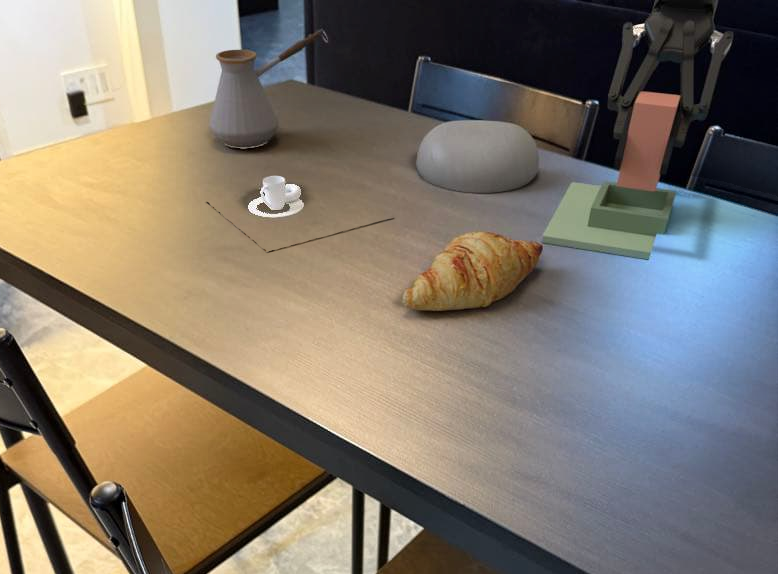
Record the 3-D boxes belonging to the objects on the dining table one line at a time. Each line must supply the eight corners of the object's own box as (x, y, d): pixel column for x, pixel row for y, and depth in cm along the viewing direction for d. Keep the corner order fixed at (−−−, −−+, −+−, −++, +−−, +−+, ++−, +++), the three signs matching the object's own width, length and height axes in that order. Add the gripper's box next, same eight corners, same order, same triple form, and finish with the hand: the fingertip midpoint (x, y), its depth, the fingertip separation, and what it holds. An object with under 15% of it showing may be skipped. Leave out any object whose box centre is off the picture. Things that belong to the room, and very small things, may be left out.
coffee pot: (223, 158, 124) (209, 51, 113) (203, 136, 131) (188, 34, 120) (343, 139, 130) (340, 36, 119) (318, 119, 137) (313, 20, 127)
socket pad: (709, 208, 109) (717, 182, 107) (697, 267, 96) (705, 240, 94) (570, 188, 114) (575, 164, 112) (541, 242, 101) (545, 216, 99)
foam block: (659, 178, 102) (681, 95, 95) (654, 191, 99) (676, 107, 92) (621, 173, 104) (640, 90, 97) (616, 186, 100) (634, 102, 93)
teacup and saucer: (292, 193, 113) (290, 164, 110) (318, 211, 109) (317, 181, 106) (239, 205, 110) (235, 176, 107) (264, 225, 105) (260, 195, 102)
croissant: (419, 352, 89) (443, 310, 81) (372, 285, 90) (391, 238, 83) (547, 295, 97) (578, 252, 90) (502, 235, 99) (530, 188, 92)
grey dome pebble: (414, 138, 109) (421, 103, 120) (412, 191, 114) (419, 152, 125) (547, 143, 107) (542, 106, 119) (539, 196, 113) (535, 156, 124)
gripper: (760, 10, 97) (709, 190, 98) (616, -1, 102) (569, 171, 103) (775, -34, 90) (720, 160, 91) (620, -44, 94) (569, 141, 95)
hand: (640, 165), depth 97 cm, fingers closed on foam block, 5 cm apart
